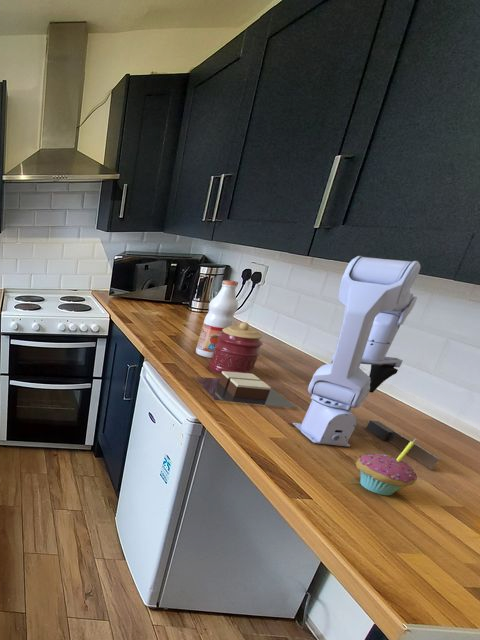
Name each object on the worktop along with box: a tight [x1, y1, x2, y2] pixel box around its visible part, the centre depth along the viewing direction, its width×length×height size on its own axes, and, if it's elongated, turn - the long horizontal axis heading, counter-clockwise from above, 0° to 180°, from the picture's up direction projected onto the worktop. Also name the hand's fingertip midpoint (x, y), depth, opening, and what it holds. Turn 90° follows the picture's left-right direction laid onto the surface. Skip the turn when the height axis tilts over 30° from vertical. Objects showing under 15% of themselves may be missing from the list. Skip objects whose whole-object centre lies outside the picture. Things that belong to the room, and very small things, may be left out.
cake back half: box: [219, 371, 261, 389], centre depth 124 cm, size 5×9×4 cm, turn 81°
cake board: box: [193, 376, 298, 409], centre depth 122 cm, size 18×22×1 cm
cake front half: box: [227, 379, 272, 400], centre depth 119 cm, size 5×9×4 cm, turn 81°
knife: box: [365, 420, 440, 471], centre depth 95 cm, size 18×2×3 cm, turn 171°
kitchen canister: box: [208, 321, 264, 375], centre depth 135 cm, size 13×13×18 cm
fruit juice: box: [195, 279, 239, 359], centre depth 149 cm, size 9×9×28 cm
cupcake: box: [355, 438, 418, 496], centre depth 79 cm, size 9×8×12 cm
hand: (352, 389), depth 105 cm, fingers open, 7 cm apart
